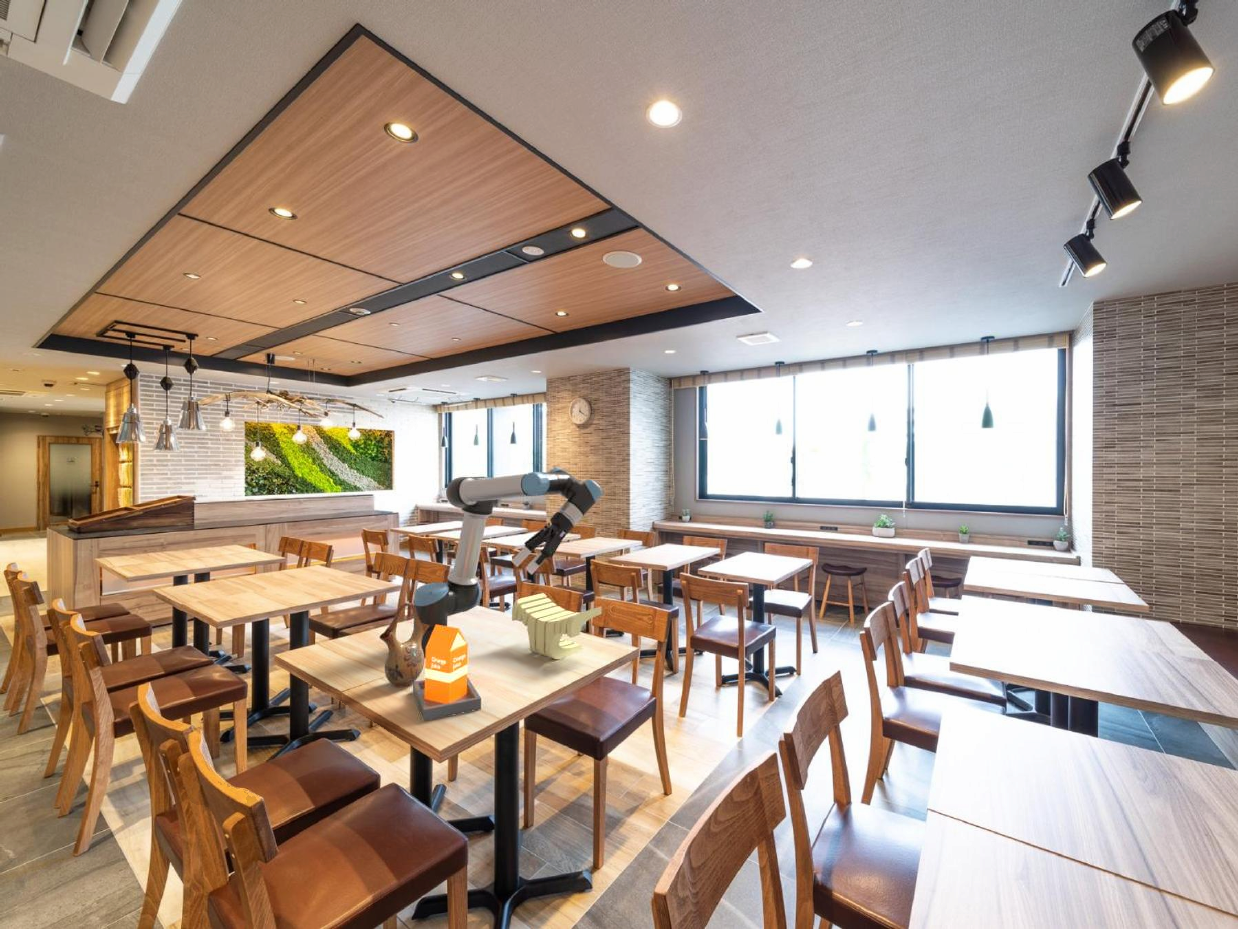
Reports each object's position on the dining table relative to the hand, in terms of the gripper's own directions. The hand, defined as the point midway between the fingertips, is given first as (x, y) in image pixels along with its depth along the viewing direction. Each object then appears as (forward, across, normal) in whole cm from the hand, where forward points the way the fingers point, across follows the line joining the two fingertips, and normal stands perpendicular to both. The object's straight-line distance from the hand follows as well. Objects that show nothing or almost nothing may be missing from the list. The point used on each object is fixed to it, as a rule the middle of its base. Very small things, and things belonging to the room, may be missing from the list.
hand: (521, 567), depth 160 cm
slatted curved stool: (+11, +20, -40) cm, 46 cm away
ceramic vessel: (+48, +14, -3) cm, 50 cm away
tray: (+41, -3, -9) cm, 42 cm away
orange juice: (+41, -3, -9) cm, 42 cm away
